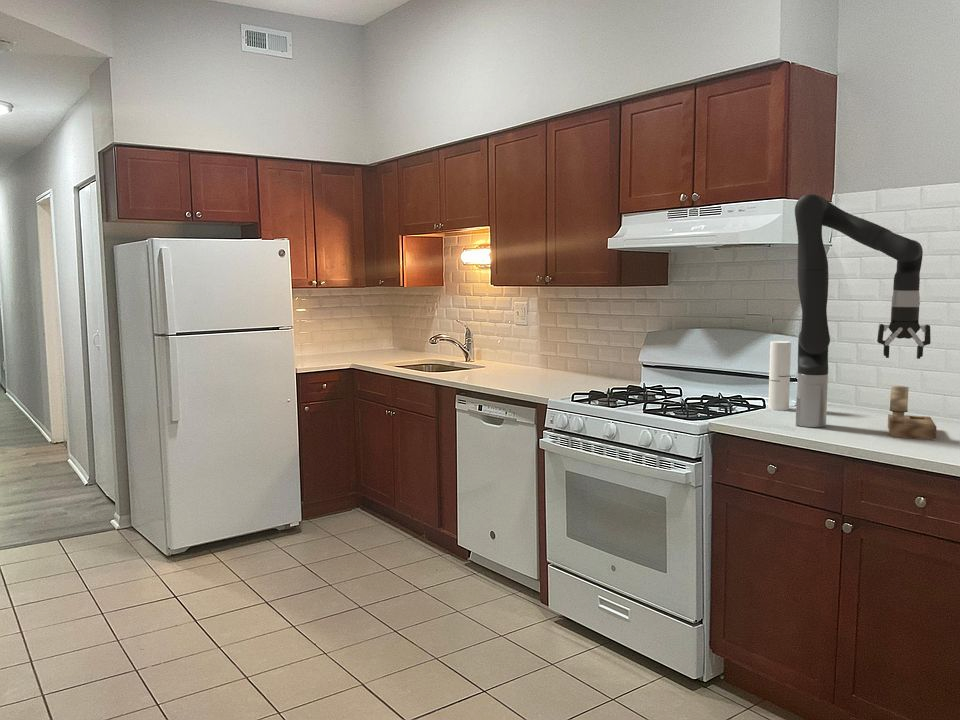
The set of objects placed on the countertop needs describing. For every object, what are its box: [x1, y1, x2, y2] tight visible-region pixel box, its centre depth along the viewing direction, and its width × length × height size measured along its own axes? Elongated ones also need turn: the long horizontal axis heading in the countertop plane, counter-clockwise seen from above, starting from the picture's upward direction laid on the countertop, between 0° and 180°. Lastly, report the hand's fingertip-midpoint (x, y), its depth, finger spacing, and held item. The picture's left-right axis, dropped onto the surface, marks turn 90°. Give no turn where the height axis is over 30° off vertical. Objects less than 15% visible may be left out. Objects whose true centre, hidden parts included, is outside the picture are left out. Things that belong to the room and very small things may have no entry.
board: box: [887, 413, 937, 440], centre depth 247 cm, size 12×18×4 cm, turn 156°
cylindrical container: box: [767, 340, 792, 411], centre depth 291 cm, size 7×7×25 cm
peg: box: [889, 385, 909, 423], centre depth 243 cm, size 5×5×11 cm
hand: (902, 358), depth 242 cm, fingers open, 8 cm apart
